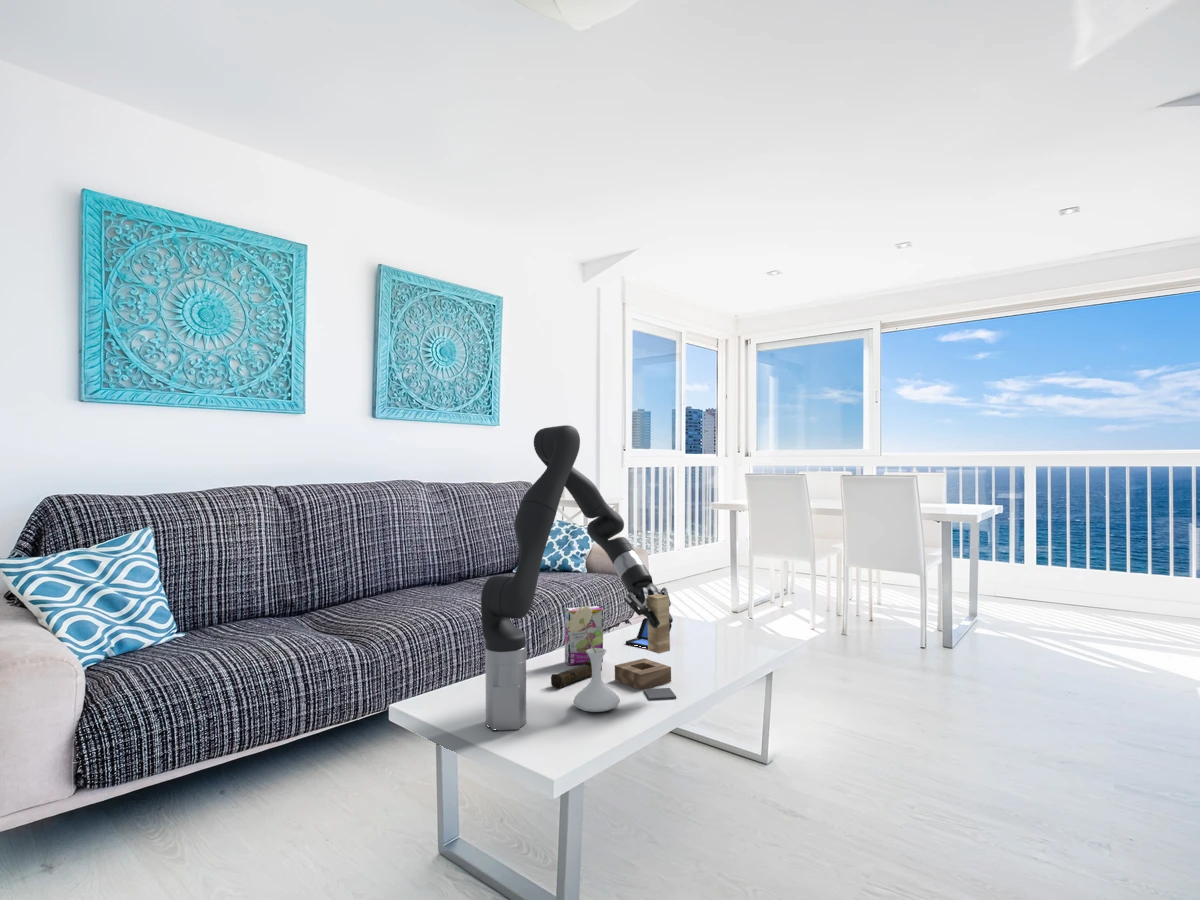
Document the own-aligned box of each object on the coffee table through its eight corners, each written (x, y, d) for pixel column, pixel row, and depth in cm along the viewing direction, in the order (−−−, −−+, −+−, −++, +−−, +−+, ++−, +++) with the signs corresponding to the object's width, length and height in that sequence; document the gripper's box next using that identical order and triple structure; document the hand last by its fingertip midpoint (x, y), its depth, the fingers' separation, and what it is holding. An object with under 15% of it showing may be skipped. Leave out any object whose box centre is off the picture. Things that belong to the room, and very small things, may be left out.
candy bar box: (568, 666, 190) (568, 610, 190) (564, 661, 194) (563, 607, 195) (604, 662, 193) (603, 608, 194) (599, 658, 198) (598, 605, 199)
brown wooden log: (560, 690, 168) (560, 673, 168) (550, 687, 171) (550, 670, 171) (608, 674, 182) (608, 658, 182) (598, 671, 184) (598, 655, 185)
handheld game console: (624, 644, 215) (623, 622, 215) (644, 638, 222) (643, 617, 223) (653, 651, 206) (652, 628, 206) (673, 644, 214) (672, 622, 214)
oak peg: (670, 650, 163) (669, 596, 164) (658, 653, 161) (657, 598, 162) (659, 647, 167) (658, 594, 167) (648, 650, 164) (647, 595, 165)
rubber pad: (676, 698, 160) (676, 696, 160) (649, 700, 159) (649, 698, 159) (669, 689, 167) (669, 687, 167) (643, 691, 166) (643, 689, 166)
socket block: (671, 681, 174) (670, 666, 174) (641, 690, 167) (640, 674, 167) (644, 672, 182) (644, 658, 183) (614, 680, 176) (614, 665, 176)
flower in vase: (606, 697, 162) (605, 598, 163) (628, 711, 152) (627, 605, 153) (559, 706, 156) (558, 603, 157) (579, 721, 146) (578, 611, 147)
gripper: (618, 565, 166) (650, 620, 156) (658, 560, 175) (690, 612, 165) (606, 583, 170) (636, 637, 160) (645, 577, 179) (676, 629, 169)
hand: (663, 624), depth 163 cm, fingers closed on oak peg, 4 cm apart
